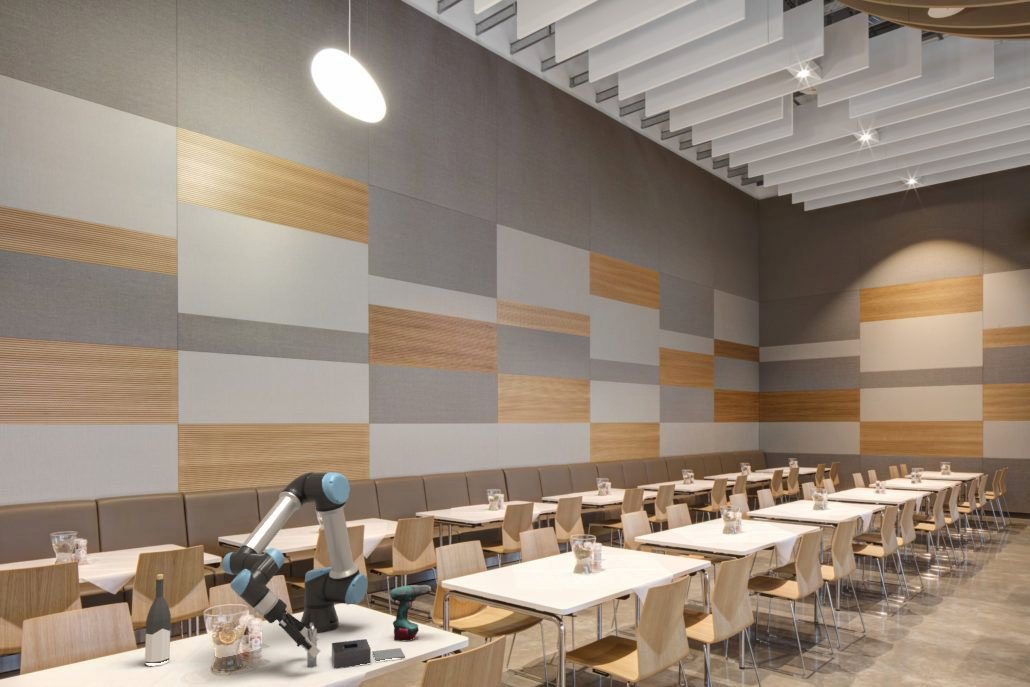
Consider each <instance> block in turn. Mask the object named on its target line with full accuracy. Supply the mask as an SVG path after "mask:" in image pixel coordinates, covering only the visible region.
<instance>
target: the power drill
mask: <svg viewBox="0 0 1030 687" xmlns="http://www.w3.org/2000/svg"><path fill="white" fill-rule="evenodd" d="M431 592H432V587H431V586H430V585H427V584H424V585H423V584H422V585H418V584H414V585H413V584H412V585H403V586H398V587H395V588H393V589H391V590H390V594H389V595H390V598H391V600H392V601H398V602H399V605H398V608H397V612H396V616H395V620H393V622H392V625H393V635H394V636H393V641H394V640H410V641H412V640H414V639H415V638H416V637H415V636H417V633H418V632H419V625H418V623H414V622H413V621H410V620H409V619H408V612H409V609H410V608H412V607H413V602H415V601H416V599H417V598H419V597H421V596H425V595H429V594H430V593H431ZM413 638H414V639H413ZM411 639H412V640H411Z"/></svg>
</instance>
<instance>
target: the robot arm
mask: <svg viewBox="0 0 1030 687" xmlns="http://www.w3.org/2000/svg"><path fill="white" fill-rule="evenodd" d="M350 492H351V488H350V484H349V480H348V478H346V476H345V475H343V474H342V473H338V472H313V471H312V472H311V471H310V472H306V473H303V474H300V475H299V476H297V477H296V478H294V479H293V480H291V481H290V482H289V483H288V484H287V485H286V486H285V487H284V488H283V489H282V491H281V492H280V493H279V495H278V500H277V501H276V502H275V503H274V504H273V506H272V507H271V508H270V510H269V511H268V512H267V513H266V514H265V516H264V517H263V518H262V520H261V521H260V522H259V523H258V524H257V526H255V528H254V530H252V532H251V533H250V534H249V536H248V537H247V538H246V539H245V540H244V541H243V543H242V544H241V545H240V547H239V548H238V549H237V550H236V551H231V552H229V553H226V555H224V556H223V560H222V562H221V563H222V564H221V565H222V570H223V572H225V573H226V574H228V575H232V576H235V577H234V578H233V580H232V581H231V582H230V588H231V589H232V591H233V592H234V593H236V594H237V596H238V597H240V599H242V600H244V602H246V603H247V604H248V605H249V606H250V607H251V608H253V609H254V610H253V612H254V613H258V614H259V615H260V616H263V618H264V619H265V620H266V621H267V622H268V623H269V624H273V623H274V622H276V621H278V626H279V627H281V628H282V629H283V630H284V632H286V633H287V634H288V636H289V637H290V638H291V639H292V641H294V642H295V643H296V646H297V648H298V647H299V648H300V647H302V648H303V649H304V650H305V651H306V652H307V651H308V652H309V653H310V654H311V655H312V656H313V657H314V658H315V657H316V658H317V656H318V654H319V653H320V652H321V650H320V649H319V648H318V647H316V646H315V645H314V644H313V643H312V642H310V641H309V640H308V629H310V623H311V622H313V623H314V628H316V629H317V633H324V632H323V631H325V632H328V630H329V631H333V630H335V629H337V628H338V627H339V624H340V623H339V622H340V621H339V617H338V614H337V610H336V607H335V604H342V605H344V604H345V605H356V604H359V603H360V602H362V601H363V599H364V598H365V596H366V593H367V591H368V587H369V586H368V585H369V584H368V583H369V582H368V577H367V576H366V575H365V574H363V573H361V572H360V568H359V565H358V564H357V563H354V558H353V554H352V553H353V552H352V549H351V543H350V542H351V541H350V536H349V533H348V532H349V531H348V527H347V522H346V516H345V511H344V508H345V506H346V504H347V500H348V499H349V497H350ZM309 503H312V504H313V503H314V507H315V511H316V512H317V513H319V514H320V515H321V521H322V526H323V530H324V536H325V540H326V546H327V551H328V555H329V556H328V557H329V561H330V566H328V567H327V566H326V567H320V568H315V569H311V570H308V571H307V572H306V573H305V577H304V610H303V612H302V617H301V620H299V619H297V617H295V616H293V615H292V614H290V613H289V612H288V611H287V607H288V605H287V603H285V602H284V601H283V600H282V599H280V598H279V597H278V595H276V594H275V592H273V591H272V590H271V589H270V588H268V586H267V585H268V583H269V582H270V581H271V579H272V578H273V577H274V576H275V575H277V573H278V571H280V569H281V567H282V566H283V565H284V563H285V556H284V554H283V553H282V552H281V550H279V549H277V548H275V547H270V548H268V549H267V547H268V546H269V545H270V543H271V542H273V539H274V538H275V537H276V536H277V535H278V533H279V531H281V529H282V528H283V527H284V525H285V524H286V523H287V521H288V520H289V519H290V518H291V516H293V514H294V512H296V511H298V510H300V509H301V508H302V507H303V506H304V505H306V504H309ZM266 549H267V550H266ZM265 550H266V551H265ZM332 629H333V630H332ZM318 641H319V638H318V637H317V642H318Z"/></svg>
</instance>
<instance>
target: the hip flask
mask: <svg viewBox="0 0 1030 687" xmlns="http://www.w3.org/2000/svg"><path fill="white" fill-rule="evenodd" d="M317 633H318V632H317V629H316V628H314V623H313V622H311V623H310V629H308V640H309V641H310V642H312V643H313V644H314V645H315V646H316V647H317V643H318V641H317V638H318V637H317V636H318V635H317ZM317 648H318V647H317ZM306 653H307V655H306V656H307V659H306V660H307V662H306V666H307V668H314V666H315V667H317V656H316V657H315V658H314V657H313V656H312V655H311V654H310V653H309V652H308V651H306Z"/></svg>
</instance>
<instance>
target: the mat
mask: <svg viewBox="0 0 1030 687" xmlns="http://www.w3.org/2000/svg"><path fill="white" fill-rule="evenodd" d="M371 653H373V654H372V656H373V655H374V656H373V658H374V657H375V659H374V661H375V660H376V661H380V660H385V659H392V658H405V659H406V656H405V654H404V652H403V650H402V648H401V647H398V648H390V649H382V650H372V651H371ZM376 661H375V662H376Z"/></svg>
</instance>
